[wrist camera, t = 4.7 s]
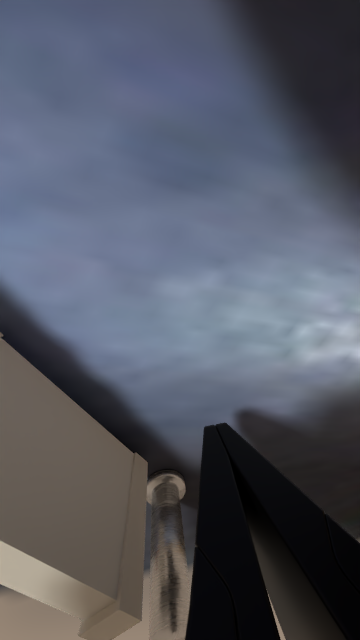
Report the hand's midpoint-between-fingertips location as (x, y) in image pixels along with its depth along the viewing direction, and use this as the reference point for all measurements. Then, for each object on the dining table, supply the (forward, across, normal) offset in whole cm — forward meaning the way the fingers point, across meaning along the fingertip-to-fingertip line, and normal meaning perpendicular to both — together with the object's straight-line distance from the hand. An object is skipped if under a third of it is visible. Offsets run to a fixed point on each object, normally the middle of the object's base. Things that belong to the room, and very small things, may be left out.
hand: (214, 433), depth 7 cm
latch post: (+3, +3, +6) cm, 8 cm away
